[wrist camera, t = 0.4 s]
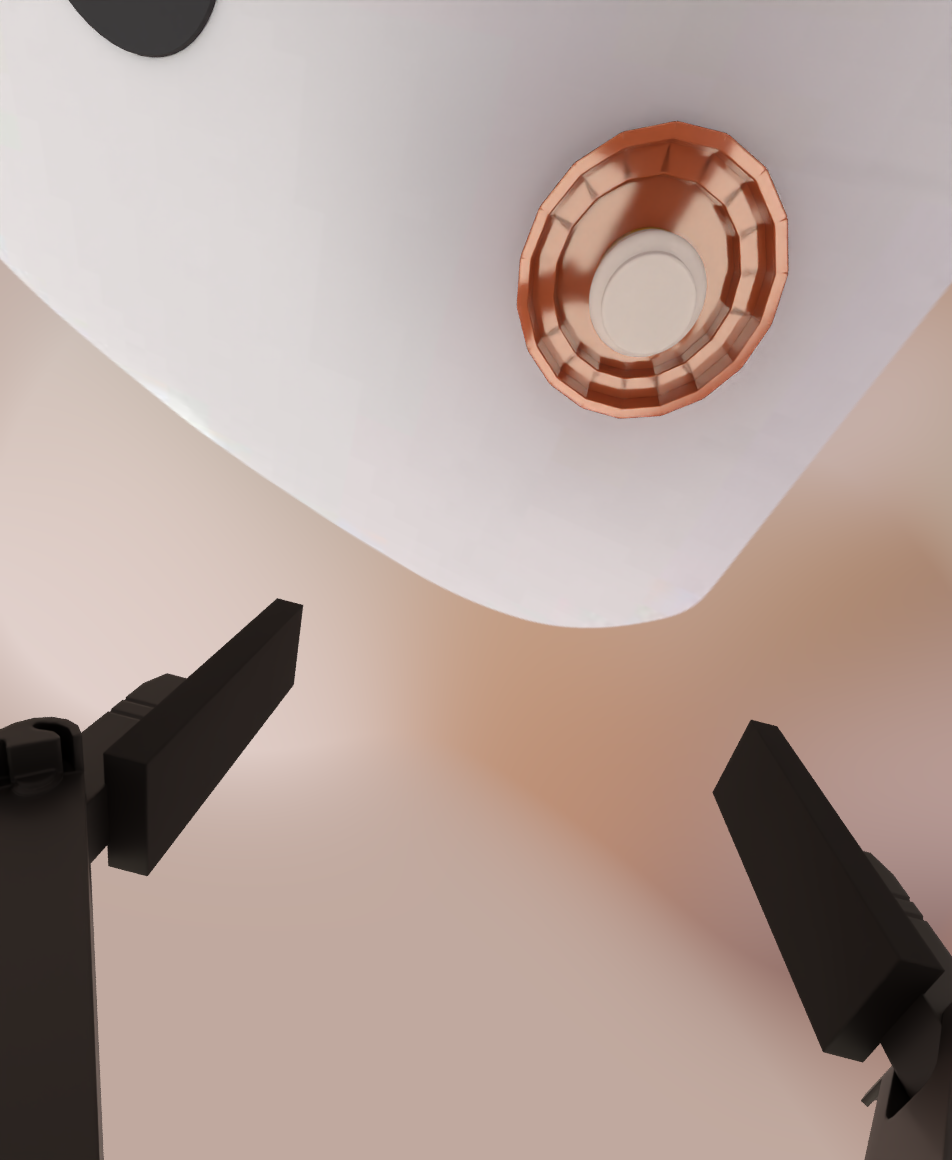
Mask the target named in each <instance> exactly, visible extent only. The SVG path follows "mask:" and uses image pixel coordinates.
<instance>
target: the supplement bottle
mask: <svg viewBox="0 0 952 1160" xmlns="http://www.w3.org/2000/svg"><path fill="white" fill-rule="evenodd" d="M706 287H707V281H706V273H705V268H704V265H703V262H702V260H701V258H700V256H699V254H698V252H697V251H696V250H695V248H694V247H693V246H692V245H691V244H690V243H689V242H688V241H686V240H685V239H684V238H682V237H681V236H679V235H677V234H674V233H672V232H670V231H668V230H665V229H662V228H657V227H643V228H638V229H635V230H632V231H630V232H628V233H626V234H624V235H623V236H621V237H620V238H619V239H617V240H616V241H615V242H614V243H613V244H612V245H611V246H610V247H609V248H608V250H607V251H606V252H605V254H604V255H603V257H602V258H601V260H600V262H599V264H598V267H597V269H596V272H595V275H594V277H593V280H592V283H591V288H590V294H589V311H590V317H591V321H592V324H593V326H594V329H595V331H596V332H597V334H598V336H599V337H600V339H601V340H602V341H603V342H604V343H605V344H606V345H607V346H608V347H610V348H611V349H612V350H614V351H616V352H618V353H620V354H623V355H626V356H631V357H646V356H652V355H655V354H658V353H661V352H663V351H665V350H667V349H669V348H671V347H673V346H674V345H675V344H677V343H678V342H679V341H680V340H681V339H683V338H684V337H685V335H686V334H687V333H688V332H689V331H690V330H691V328H692V327H693V326H694V324H695V322H696V321H697V319H698V317H699V315H700V313H701V310H702V308H703V305H704V301H705V296H706Z"/></svg>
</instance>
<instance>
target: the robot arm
mask: <svg viewBox="0 0 952 1160" xmlns="http://www.w3.org/2000/svg"><path fill="white" fill-rule="evenodd" d="M302 610H303V605H301V604H297V603H293V602H289V601H285V600H282V599H278V598H277V599H276V600H275V601H274V602H273V603H271V604H270V605H269V606H268V607H267V608H266V609H265V610H264V611H262V612H261V613H260V614H259V615H258V616H257V617H256V618H255V619H253V620H252V621H251V622H250V623H249V624H248V625H247V626H246V627H244V628H243V629H242V630H241V631H240V632H239V633H238V634H236V635H235V636H234V637H233V638H232V639H231V640H230V641H229V642H228V643H226V644H225V645H224V646H223V647H222V648H221V649H220V650H218V651H217V652H216V653H215V654H214V655H213V656H212V657H211V658H210V659H208V660H207V661H206V662H205V663H204V664H203V665H202V666H200V667H199V668H198V669H197V670H196V671H195V672H194V673H193V674H191V675H190V676H189V677H188V678H183V677H179V676H175V675H171V674H164V675H162V676H159V677H157V678H155V679H152V680H150V681H147V682H145V683H143V684H142V685H141V686H139V687H138V688H137V689H136V690H134V691H133V692H132V693H131V694H129V695H128V696H127V697H126V699H125V700H122V701H121V702H119V703H118V704H117V705H116V706H114V707H113V708H112V709H111V711H110V712H107V713H106V714H104V715H103V716H102V717H101V718H99V719H98V720H97V721H96V722H94V723H93V724H92V725H91V726H89V727H88V728H87V729H86V730H84V731H83V732H82V733H81V731H80V729H79V727H78V725H76V724H74V723H73V722H71V721H69V720H67V719H61V718H55V717H43V718H32V719H28V720H24V721H20V722H16V723H13V724H11V725H9V726H7V727H5V728H3V729H0V1160H104V1156H103V1135H102V1134H103V1133H102V1112H101V1088H100V1066H99V1045H98V1044H99V1042H98V1021H97V1020H98V1019H97V996H96V974H95V951H94V928H93V906H92V882H91V863H92V861H93V860H94V859H95V858H96V857H97V856H98V855H99V854H100V853H101V851H102V850H103V849H104V848H105V847H106V846H108V866H110V867H114V868H118V869H122V870H125V871H129V872H133V873H137V874H141V875H145V876H148V875H149V874H150V872H151V871H152V870H153V868H154V867H155V866H156V864H157V863H158V862H159V861H160V859H161V858H162V857H163V855H164V854H165V853H166V851H167V850H168V849H169V847H170V846H171V845H172V843H173V842H174V841H175V839H176V838H177V837H178V836H179V834H180V833H181V832H182V830H183V829H184V828H185V826H186V825H187V824H188V823H189V821H190V820H191V819H192V817H193V816H194V815H195V813H196V812H197V811H198V809H199V808H200V807H201V805H202V804H203V803H204V802H205V800H206V799H207V798H208V796H209V795H210V794H211V792H212V791H213V790H214V788H215V787H216V786H217V784H218V783H219V782H220V780H221V779H222V778H223V777H224V775H225V774H226V773H227V771H228V770H229V768H231V766H232V765H233V763H234V762H235V761H236V760H237V758H238V757H239V756H240V754H241V753H242V751H243V750H244V749H245V748H246V746H247V745H248V744H249V742H250V741H251V740H252V739H253V737H254V736H255V735H256V733H257V732H258V731H259V729H260V728H261V727H262V726H263V724H264V723H265V722H266V720H267V719H268V717H269V716H270V715H271V714H272V713H273V711H274V710H275V709H276V707H277V706H278V704H279V703H280V702H281V701H282V699H283V698H284V697H285V695H286V694H287V693H288V692H289V690H290V689H291V688H292V686H293V685H294V678H295V670H296V669H295V668H296V661H297V653H298V644H299V635H300V627H301V619H302ZM713 795H714V797H715V799H716V802H717V804H718V806H719V809H720V811H721V813H722V816H723V818H724V820H725V823H726V825H727V827H728V830H729V832H730V835H731V837H732V839H733V842H734V844H735V846H736V849H737V851H738V853H739V856H740V858H741V860H742V862H743V865H744V867H745V869H746V872H747V874H748V876H749V879H750V881H751V884H752V886H753V889H754V891H755V893H756V895H757V898H758V900H759V903H760V905H761V907H762V910H763V912H764V914H765V917H766V919H767V921H768V924H769V926H770V928H771V931H772V933H773V935H774V938H775V940H776V943H777V945H778V947H779V950H780V952H781V954H782V957H783V959H784V961H785V964H786V966H787V968H788V971H789V973H790V975H791V978H792V980H793V982H794V985H795V987H796V989H797V992H798V994H799V997H800V998H801V1001H802V1003H803V1006H804V1008H805V1011H806V1013H807V1015H808V1018H809V1020H810V1022H811V1024H812V1027H813V1029H814V1032H815V1034H816V1036H817V1039H818V1041H819V1043H820V1046H821V1048H822V1051H823V1052H825V1053H829V1054H832V1055H836V1056H840V1057H844V1058H848V1059H852V1060H856V1061H859V1062H864V1061H865V1060H866V1059H867V1057H868V1056H869V1055H870V1054H871V1053H872V1052H873V1050H874V1049H875V1048H876V1047H877V1046H878V1045H879V1044H880V1043H881V1045H882V1047H883V1049H884V1051H885V1053H886V1055H887V1057H888V1058H889V1060H890V1062H891V1064H892V1066H891V1067H890V1068H889V1070H888V1071H887V1072H886V1073H885V1074H884V1075H883V1076H882V1077H881V1078H880V1079H879V1080H878V1081H877V1082H876V1083H875V1084H874V1085H873V1087H872V1088H871V1089H870V1090H869V1091H868V1092H867V1093H866V1094H865V1096H864V1097H863V1099H862V1100H861V1101H862V1102H863V1103H864V1104H865V1105H866V1106H867V1107H868V1106H869V1105H870V1104H871V1103H872V1102H873V1101H874V1100H877V1104H876V1109H875V1113H874V1118H873V1123H872V1127H871V1132H870V1137H869V1141H868V1146H867V1151H866V1156H865V1160H952V956H951V955H950V953H949V952H948V950H947V949H946V948H945V947H944V945H943V943H942V942H941V941H940V939H939V938H938V936H937V935H936V934H935V932H934V931H933V929H932V928H931V927H930V925H929V924H928V922H927V921H924V920H923V915H922V914H921V913H920V911H919V910H918V908H917V907H916V906H915V904H914V903H913V902H910V900H909V899H910V897H909V896H908V895H907V893H906V892H905V890H904V889H903V888H902V886H901V885H900V883H899V882H898V881H897V879H896V878H895V876H894V875H893V874H892V873H891V872H890V871H889V870H888V869H887V868H886V867H885V866H884V865H883V864H882V863H881V862H880V861H879V860H877V859H876V858H875V857H874V856H873V855H872V854H871V853H869V852H865V851H862V849H861V848H860V846H859V845H858V843H857V842H856V840H855V839H854V837H853V836H852V835H851V833H850V832H849V830H848V829H847V827H846V826H845V824H844V823H843V822H842V820H841V819H840V817H839V816H838V814H837V813H836V811H835V810H834V808H833V807H832V805H831V804H830V803H829V801H828V800H827V798H826V797H825V795H824V794H823V792H822V791H821V789H820V788H819V787H818V785H817V784H816V782H815V781H814V779H813V778H812V776H811V775H810V773H809V772H808V771H807V769H806V768H805V766H804V765H803V763H802V762H801V760H800V759H799V757H798V756H797V755H796V753H795V752H794V750H793V749H792V747H791V746H790V744H789V743H788V742H787V740H786V739H785V737H784V736H783V734H782V733H781V731H780V730H779V729H778V727H777V726H774V725H770V724H765V723H761V722H758V721H754V720H751V721H750V722H749V724H748V726H747V728H746V730H745V732H744V734H743V736H742V738H741V739H740V741H739V743H738V745H737V747H736V749H735V751H734V753H733V755H732V757H731V758H730V760H729V762H728V764H727V766H726V768H725V770H724V772H723V774H722V776H721V777H720V779H719V781H718V783H717V785H716V787H715V789H714V791H713Z"/></svg>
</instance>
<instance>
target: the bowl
mask: <svg viewBox="0 0 952 1160" xmlns="http://www.w3.org/2000/svg"><path fill="white" fill-rule="evenodd" d="M643 227H657V228H662V229H665V230H668V231H670V232H672V233H674V234H677V235H679V236H681V237H682V238H684V239H685V240H686V241H688V242H689V243H690V244H691V245H692V246H693V247H694V248H695V250H696V251H697V252H698V254H699V256H700V258H701V260H702V262H703V265H704V268H705V273H706V281H707V287H706V296H705V301H704V305H703V308H702V310H701V313H700V315H699V317H698V319H697V321H696V322H695V324H694V326H693V327H692V328H691V330H690V331H689V332H688V333H687V334H686V335H685V337H684V338H683V339H681V340H680V341H679V342H678V343H677V344H675V345H674V346H673V347H671V348H669V349H667V350H665V351H663V352H661V353H658V354H655V355H652V356H646V357H631V356H626V355H623V354H620V353H618V352H616V351H614V350H612V349H611V348H610V347H608V346H607V345H606V344H605V343H604V342H603V341H602V340H601V339H600V337H599V336H598V334H597V332H596V331H595V329H594V326H593V324H592V321H591V317H590V311H589V294H590V288H591V283H592V280H593V277H594V275H595V272H596V269H597V267H598V264H599V262H600V260H601V258H602V257H603V255H604V254H605V252H606V251H607V250H608V248H609V247H610V246H611V245H612V244H613V243H614V242H615V241H616V240H617V239H619V238H620V237H621V236H623V235H624V234H626V233H628V232H630V231H632V230H635V229H638V228H643ZM787 276H788V219H787V214H786V212H785V210H784V207H783V205H782V203H781V200H780V198H779V195H778V193H777V191H776V188H775V186H774V184H773V181H772V179H771V176H770V174H769V172H768V170H767V169H766V167H765V166H764V165H763V164H762V163H761V162H759V161H758V160H757V159H756V158H755V157H754V156H753V155H752V154H750V153H749V152H748V151H747V150H746V149H745V148H744V147H742V146H741V145H740V144H739V143H738V142H737V141H736V140H735V139H733V138H732V137H731V136H730V135H727V133H724V132H720V131H716V130H712V129H708V128H704V127H700V126H696V125H692V124H688V123H684V122H680V121H677V122H676V121H673V122H668V123H663V124H658V125H653V126H648V127H643V128H638V129H633V130H628V131H624V132H623V133H622V132H621V133H619V134H618V135H616V136H615V137H613V138H612V139H610V140H609V141H607V142H606V143H604V144H603V145H601V146H599V147H598V148H596V149H595V150H593V151H592V152H590V153H589V154H587V155H586V156H584V157H583V158H581V159H579V160H578V161H576V162H575V163H574V164H573V165H572V166H571V168H570V169H569V170H568V172H567V173H566V174H565V175H564V177H563V178H562V179H561V180H560V182H559V183H558V184H557V185H556V187H555V188H554V189H553V191H552V192H551V193H550V194H549V196H548V197H547V198H546V199H545V201H544V202H543V203H542V204H541V206H540V208H539V209H538V212H537V215H536V217H535V220H534V222H533V225H532V228H531V230H530V233H529V235H528V238H527V241H526V243H525V246H524V248H523V251H522V254H521V258H520V265H519V280H518V294H517V310H518V314H519V318H520V322H521V326H522V330H523V334H524V338H525V342H526V346H527V349H528V352H529V353H530V355H531V356H532V358H533V359H534V361H535V362H536V364H537V365H538V367H539V368H540V370H541V371H542V373H543V375H544V376H545V378H546V379H547V381H548V382H549V384H551V386H553V387H554V388H555V389H557V390H558V391H560V392H561V393H562V394H564V395H565V396H566V397H568V398H569V399H570V400H572V401H573V402H574V403H576V404H577V405H578V406H580V407H582V408H584V409H587V410H591V411H594V412H598V413H601V414H605V415H608V416H612V417H615V418H621V419H622V418H637V417H652V416H661V415H664V414H667V413H669V412H672V411H674V410H677V409H679V408H682V407H684V406H687V405H689V404H692V403H694V402H697V401H699V400H702V399H703V398H705V397H706V396H707V395H709V394H710V393H711V392H712V391H714V390H715V389H716V388H717V387H719V386H720V385H721V384H722V383H724V382H725V381H726V380H727V379H729V378H730V377H731V376H732V375H734V374H735V373H736V372H737V371H739V370H740V369H741V368H742V367H743V365H744V364H745V362H746V361H747V359H748V358H749V357H750V355H751V354H752V352H753V351H754V349H755V348H756V347H757V345H758V344H759V342H760V341H761V339H762V338H763V337H764V335H765V334H766V332H767V331H768V329H769V328H770V326H771V324H772V322H773V319H774V316H775V313H776V310H777V307H778V304H779V301H780V298H781V295H782V291H783V288H784V285H785V282H786V279H787Z"/></svg>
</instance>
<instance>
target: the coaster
mask: <svg viewBox="0 0 952 1160" xmlns="http://www.w3.org/2000/svg"><path fill="white" fill-rule="evenodd" d="M69 1H70V3H71V4H72V5H73V7H74V8H75V9H76V11H77V12H78V13H79V14H80V15H81V16H82V17H83V18H84V19H85V21H86V22H87V23H88V24H89V25H90V26H91V27H92V28H94V29H95V30H96V31H97V32H98V33H99V34H100V35H101V36H103V37H104V38H106V39H107V40H108V41H110V42H111V43H113V44H114V45H116V46H118V47H120V48H122V49H124V50H126V51H129V52H132V53H135V54H138V55H141V56H147V57H164V56H168V55H172V54H175V53H177V52H179V51H181V50H183V49H184V48H185V47H187V46H188V45H189V44H190V43H192V42H193V41H194V39H195V38H196V37H197V36H198V35H199V34H200V32H201V31H202V29H203V27H204V26H205V24H206V22H207V21H208V19H209V16H210V14H211V11H212V9H213V7H214V3H215V0H69Z"/></svg>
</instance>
